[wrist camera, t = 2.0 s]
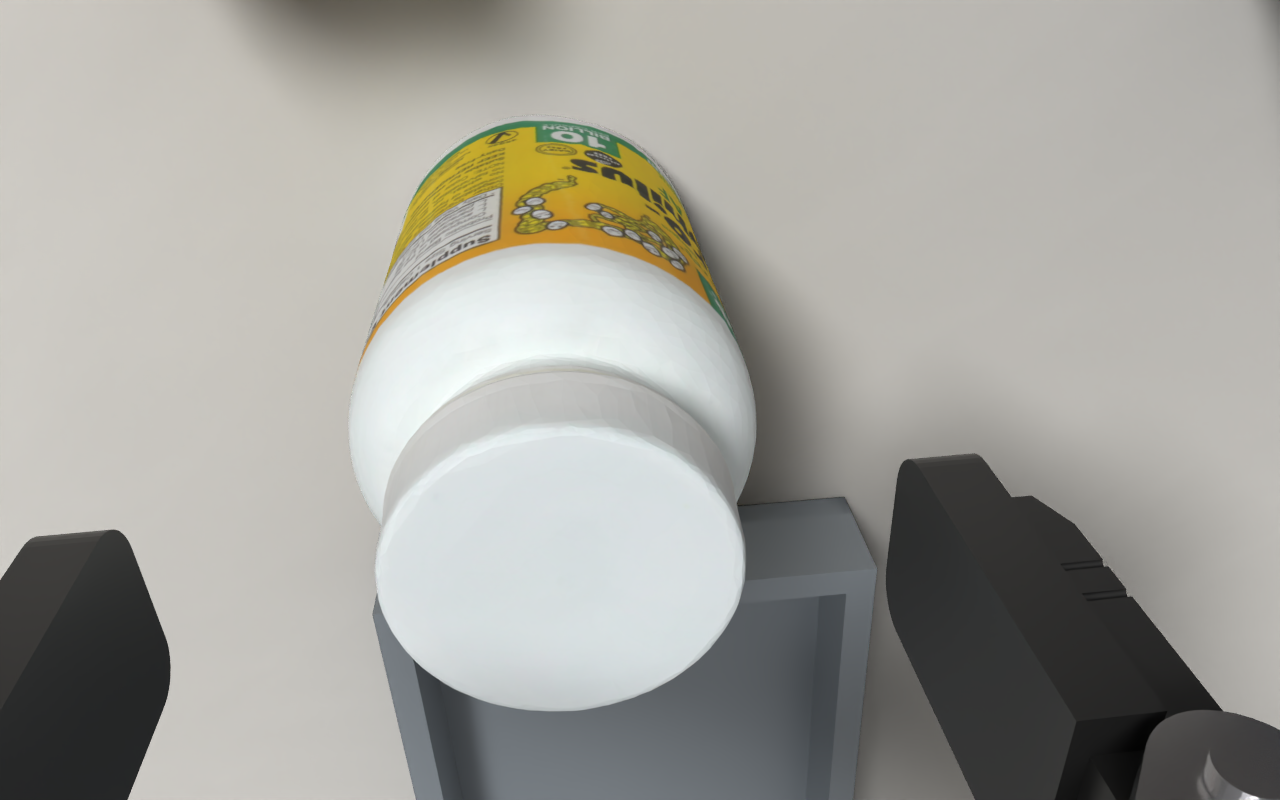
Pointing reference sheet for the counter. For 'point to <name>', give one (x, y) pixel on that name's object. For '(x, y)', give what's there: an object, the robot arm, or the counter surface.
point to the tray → (684, 694)
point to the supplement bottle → (552, 423)
